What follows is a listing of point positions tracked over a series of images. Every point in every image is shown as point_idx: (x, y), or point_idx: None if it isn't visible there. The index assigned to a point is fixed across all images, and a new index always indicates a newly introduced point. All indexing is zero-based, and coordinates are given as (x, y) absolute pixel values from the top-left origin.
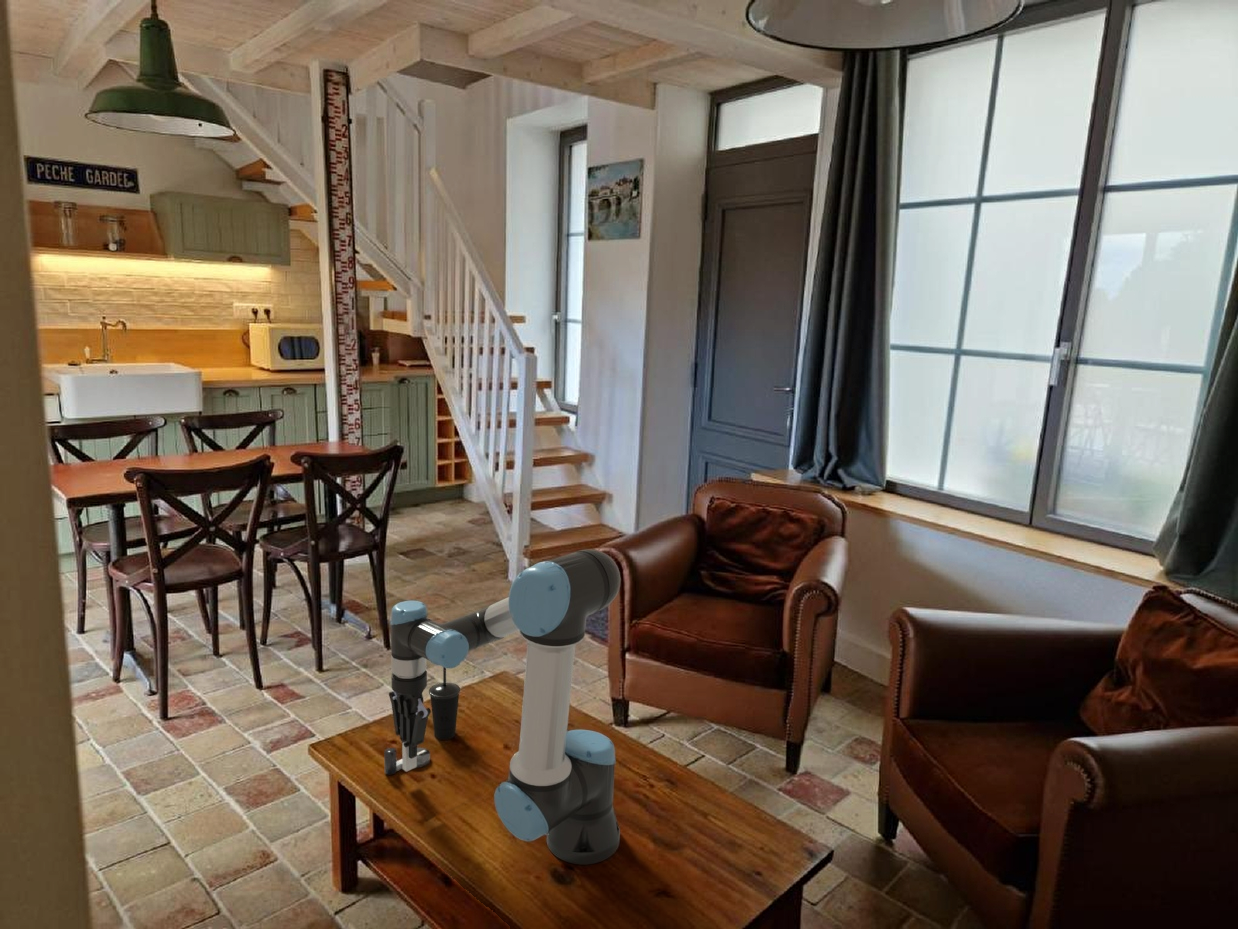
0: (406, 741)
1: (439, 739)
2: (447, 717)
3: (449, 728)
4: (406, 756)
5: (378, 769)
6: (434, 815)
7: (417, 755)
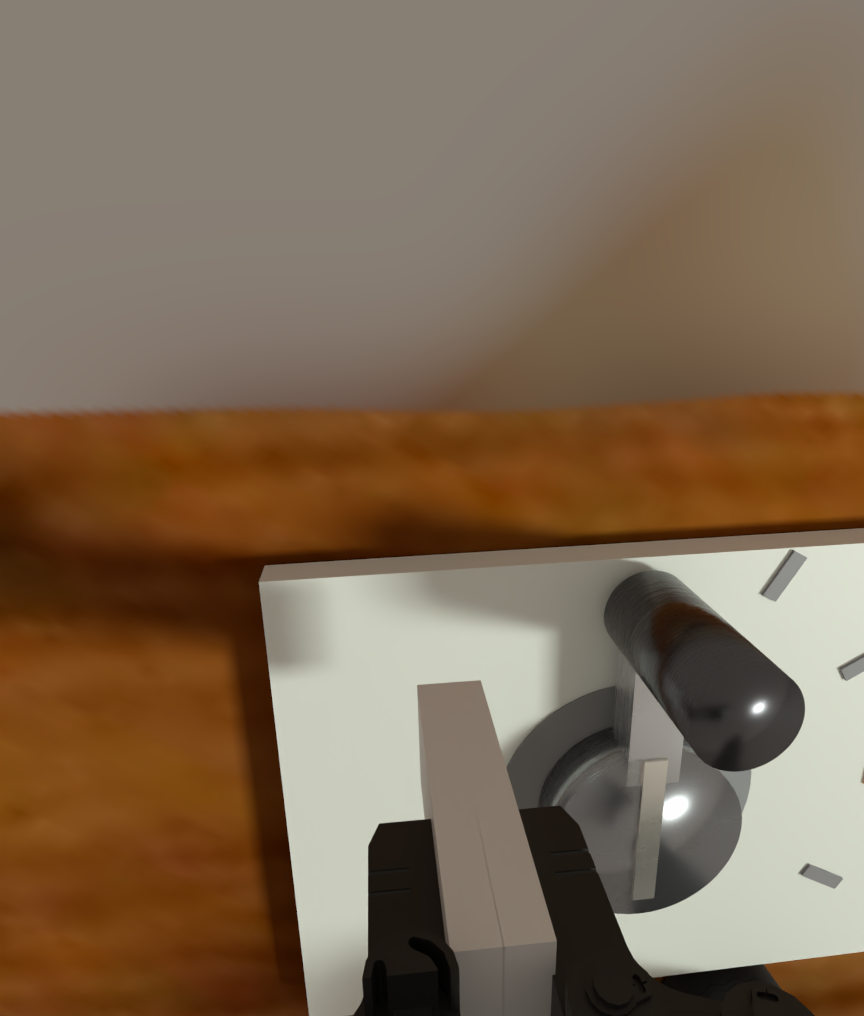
0: (540, 995)
1: (712, 990)
2: None
3: None
4: (434, 809)
5: None
6: (20, 608)
7: (634, 838)
